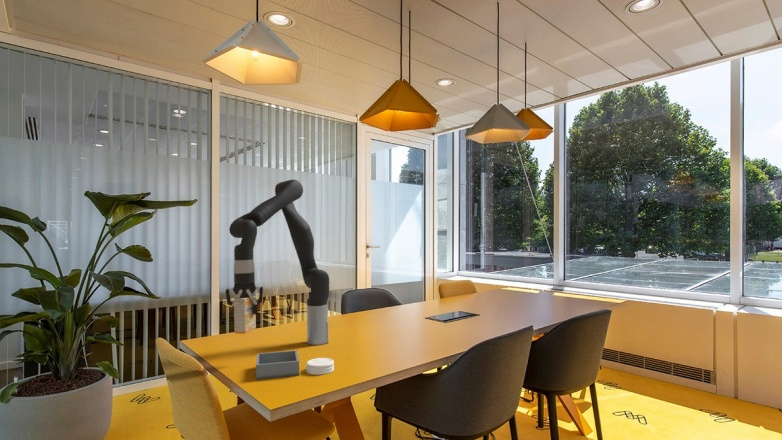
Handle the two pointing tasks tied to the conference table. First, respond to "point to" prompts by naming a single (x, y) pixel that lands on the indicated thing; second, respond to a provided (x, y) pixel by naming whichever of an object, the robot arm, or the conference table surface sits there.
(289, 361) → the bin
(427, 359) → the conference table surface
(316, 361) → the white short cylinder
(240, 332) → the supplement box
